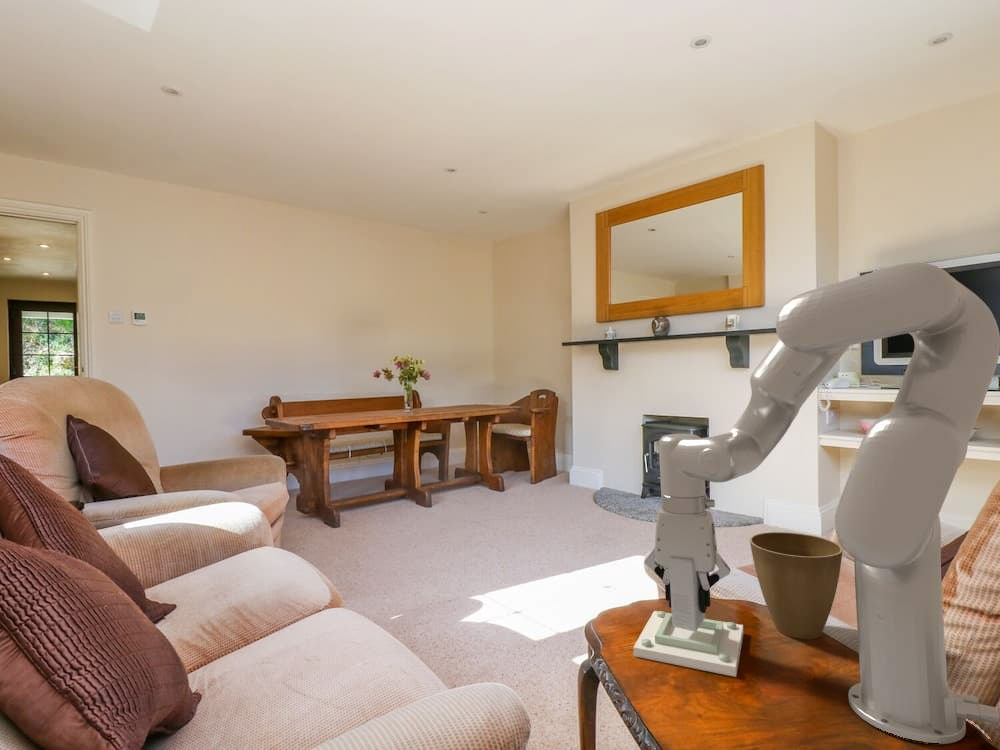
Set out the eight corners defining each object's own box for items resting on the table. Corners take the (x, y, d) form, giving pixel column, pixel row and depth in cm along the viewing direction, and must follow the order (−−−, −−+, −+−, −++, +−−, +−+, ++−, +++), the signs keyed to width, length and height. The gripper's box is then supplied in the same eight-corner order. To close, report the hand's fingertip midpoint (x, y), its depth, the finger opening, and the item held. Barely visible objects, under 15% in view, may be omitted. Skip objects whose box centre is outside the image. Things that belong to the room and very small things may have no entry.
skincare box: (681, 613, 97) (678, 548, 98) (705, 619, 95) (702, 551, 95) (671, 626, 92) (668, 557, 93) (696, 632, 90) (693, 561, 90)
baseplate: (743, 633, 97) (742, 618, 97) (736, 676, 83) (735, 659, 83) (654, 618, 104) (653, 604, 104) (633, 656, 90) (633, 640, 90)
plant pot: (752, 641, 94) (747, 550, 94) (755, 608, 107) (751, 528, 107) (852, 657, 87) (847, 559, 87) (843, 620, 100) (838, 535, 100)
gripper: (737, 503, 93) (742, 607, 93) (640, 496, 101) (644, 592, 101) (733, 512, 87) (738, 625, 86) (630, 505, 95) (634, 607, 95)
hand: (688, 606), depth 94 cm, fingers closed on skincare box, 4 cm apart
